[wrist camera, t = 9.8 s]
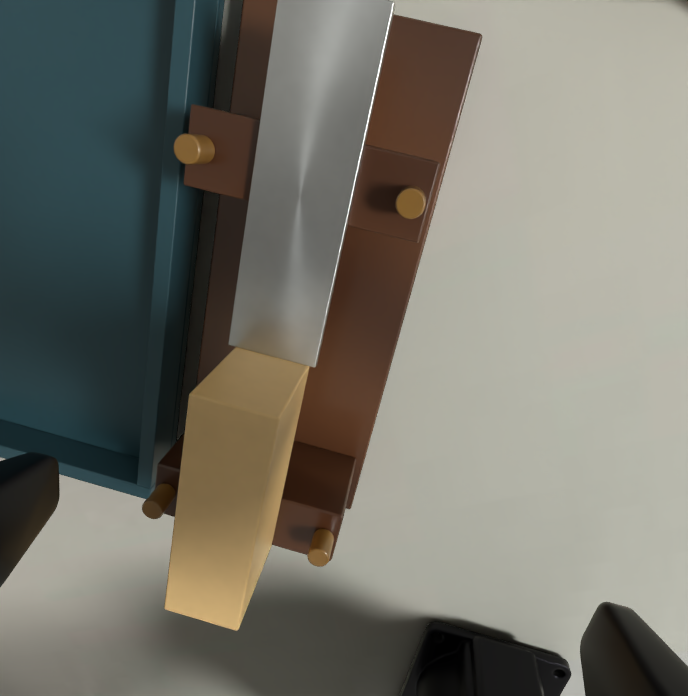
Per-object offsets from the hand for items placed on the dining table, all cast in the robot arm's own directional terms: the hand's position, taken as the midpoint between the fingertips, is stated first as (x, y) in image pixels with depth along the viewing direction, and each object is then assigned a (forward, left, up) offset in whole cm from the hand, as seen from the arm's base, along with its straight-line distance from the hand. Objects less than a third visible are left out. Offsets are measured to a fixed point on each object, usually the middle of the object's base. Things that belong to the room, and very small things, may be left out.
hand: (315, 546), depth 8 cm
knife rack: (+1, +3, -12) cm, 12 cm away
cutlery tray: (+1, +15, -12) cm, 19 cm away
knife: (+1, +3, -7) cm, 8 cm away
